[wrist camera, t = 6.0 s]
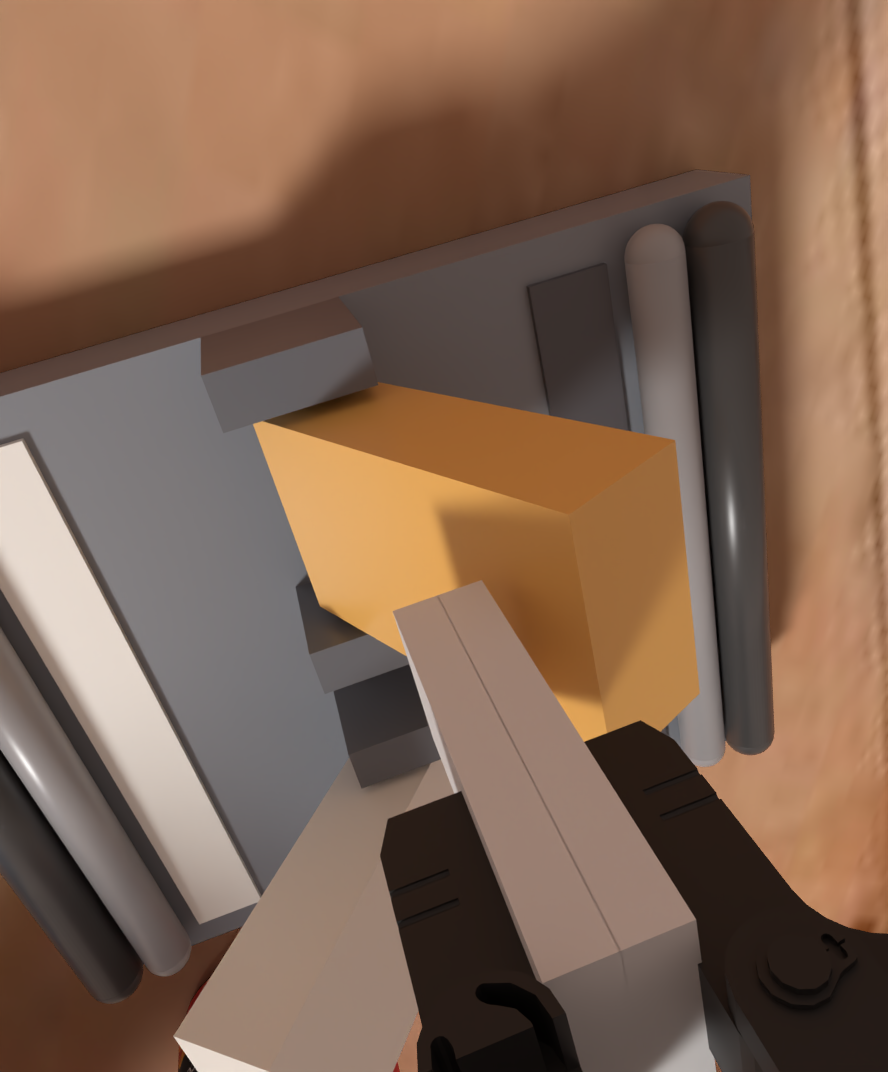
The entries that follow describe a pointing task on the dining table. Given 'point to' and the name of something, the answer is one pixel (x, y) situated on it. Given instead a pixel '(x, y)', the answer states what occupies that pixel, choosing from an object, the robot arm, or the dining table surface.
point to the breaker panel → (276, 563)
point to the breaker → (319, 948)
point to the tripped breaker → (500, 536)
